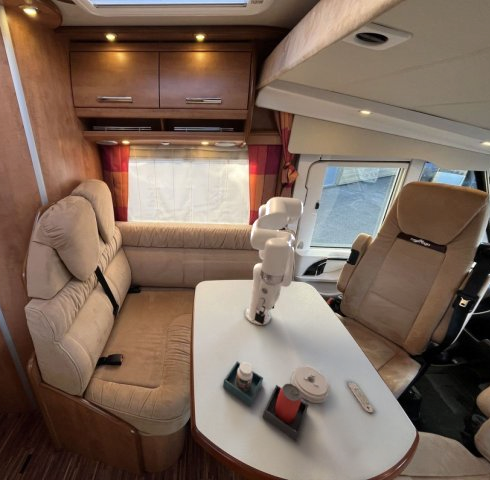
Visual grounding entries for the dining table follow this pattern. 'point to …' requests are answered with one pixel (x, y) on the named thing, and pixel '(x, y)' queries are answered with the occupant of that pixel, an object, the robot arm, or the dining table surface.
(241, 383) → the pill bottle
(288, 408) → the beer can
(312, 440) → the dining table surface
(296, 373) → the lid
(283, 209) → the robot arm
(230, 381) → the pill bin
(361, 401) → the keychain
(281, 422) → the can bin
